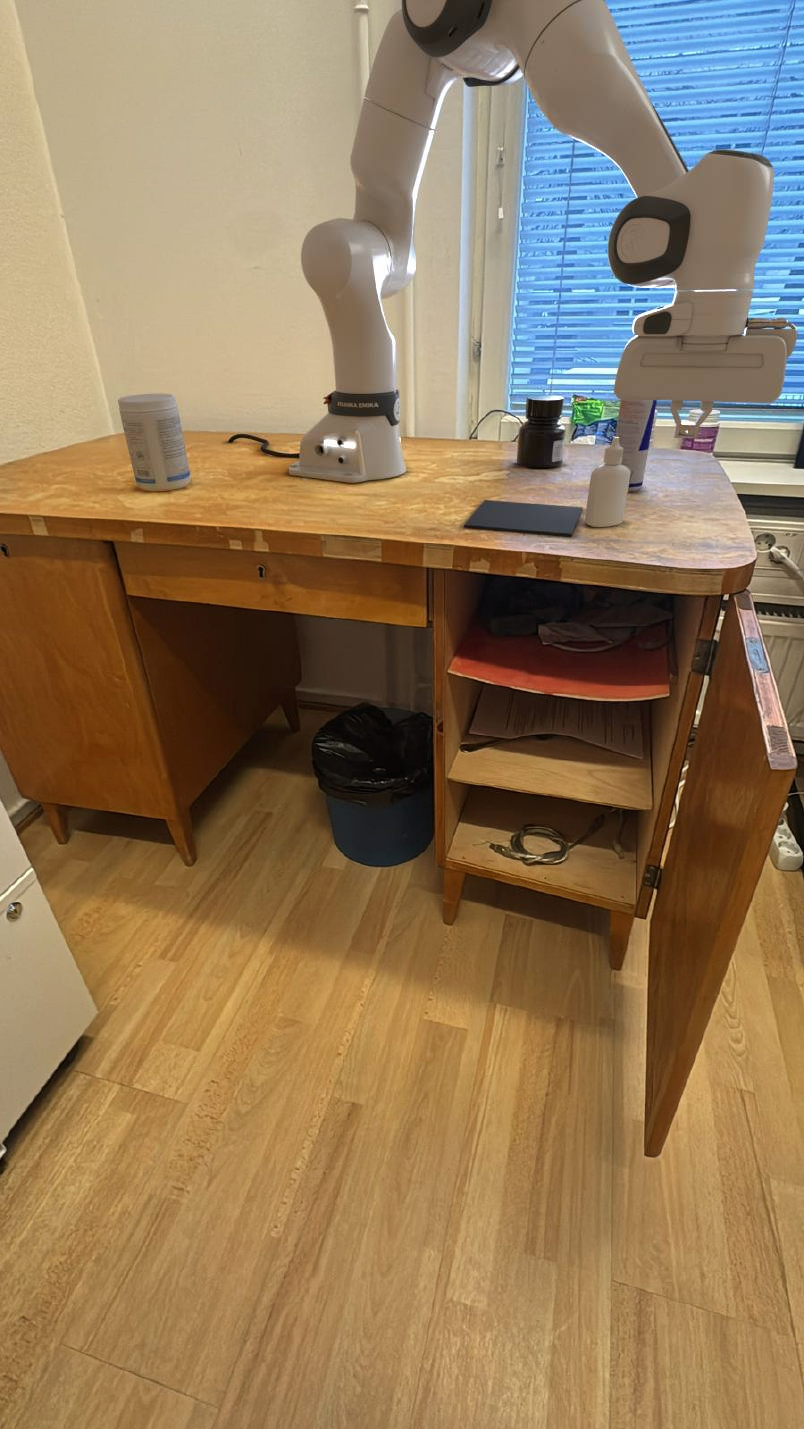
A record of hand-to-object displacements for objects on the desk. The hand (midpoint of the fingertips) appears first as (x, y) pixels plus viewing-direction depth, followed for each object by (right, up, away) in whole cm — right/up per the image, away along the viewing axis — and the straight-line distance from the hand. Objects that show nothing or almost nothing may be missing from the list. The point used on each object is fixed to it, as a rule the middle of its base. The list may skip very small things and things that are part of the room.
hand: (685, 437), depth 91 cm
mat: (-19, -7, +12) cm, 24 cm away
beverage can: (0, +2, +26) cm, 26 cm away
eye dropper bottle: (-8, -9, +10) cm, 15 cm away
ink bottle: (-11, +12, +43) cm, 46 cm away
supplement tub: (-81, +4, +32) cm, 87 cm away
